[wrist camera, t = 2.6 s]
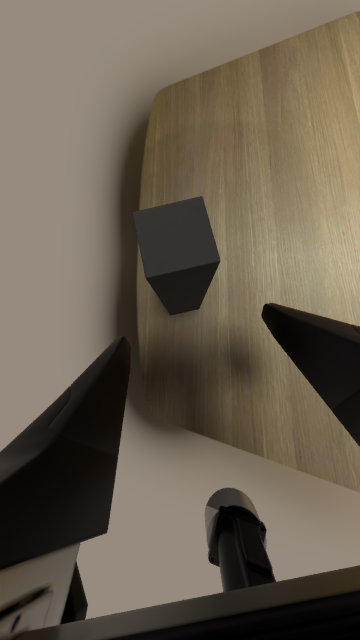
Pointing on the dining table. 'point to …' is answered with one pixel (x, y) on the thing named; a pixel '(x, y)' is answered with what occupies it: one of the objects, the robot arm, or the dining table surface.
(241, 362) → the dining table surface
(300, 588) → the robot arm
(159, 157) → the dining table surface
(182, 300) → the pad block
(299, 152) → the dining table surface
